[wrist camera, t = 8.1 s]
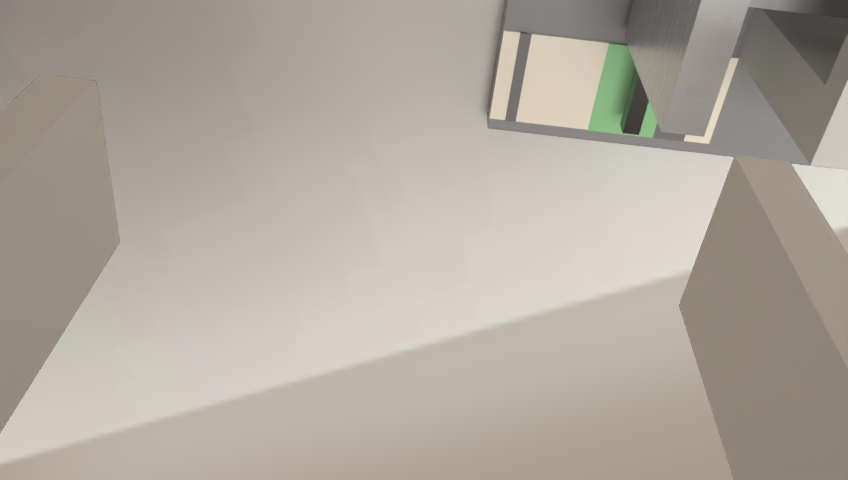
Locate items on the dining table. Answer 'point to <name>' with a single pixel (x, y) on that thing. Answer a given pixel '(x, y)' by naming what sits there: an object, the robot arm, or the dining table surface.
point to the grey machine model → (690, 56)
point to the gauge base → (607, 93)
